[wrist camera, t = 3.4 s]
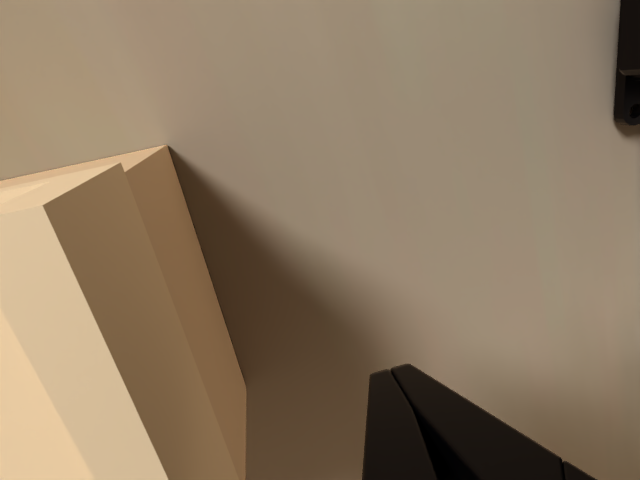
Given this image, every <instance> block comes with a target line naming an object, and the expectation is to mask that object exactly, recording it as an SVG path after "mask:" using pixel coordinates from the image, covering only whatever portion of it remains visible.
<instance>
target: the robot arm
mask: <svg viewBox="0 0 640 480" xmlns="http://www.w3.org/2000/svg"><path fill="white" fill-rule="evenodd" d="M631 107H632V108H633V110H632V113H631V114H629V111H630V108H631ZM614 118H615V120H616V122H617V123H619V124H622V125H637V124H640V0H621V8H620V24H619V40H618V56H617V72H616V88H615V105H614ZM362 480H597V479H595V478H593V477H592V476H590V475H588V474H587V473H585V472H583V471H582V470H580V469H579V468H577V467H575V466H574V465H572V464H571V463H569V462H567V461H564V462H562V459H561V458H560V457H559V456H557V455H556V454H554V453H553V452H551V451H549V450H548V449H546V448H544V447H543V446H541V445H540V444H538V443H536V442H535V441H533V440H532V439H530V438H528V437H527V436H525V435H524V434H522V433H520V432H519V431H517V430H516V429H514V428H512V427H511V426H509V425H507V424H506V423H504V422H503V421H501V420H499V419H498V418H496V417H495V416H493V415H491V414H490V413H488V412H487V411H485V410H483V409H482V408H480V407H479V406H477V405H475V404H474V403H472V402H470V401H469V400H467V399H466V398H464V397H462V396H461V395H459V394H458V393H456V392H454V391H453V390H451V389H450V388H448V387H446V386H445V385H443V384H442V383H440V382H438V381H437V380H435V379H433V378H432V377H430V376H429V375H427V374H425V373H424V372H422V371H421V370H419V369H417V368H416V367H414V366H413V365H411V364H404V365H400V366H396V367H393V368H391V370H387V369H385V370H382V371H378V372H374V373H372V374H371V375H370V379H369V393H368V406H367V419H366V433H365V446H364V459H363V473H362Z"/></svg>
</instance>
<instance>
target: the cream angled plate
mask: <svg viewBox="0 0 640 480" xmlns="http://www.w3.org/2000/svg"><path fill="white" fill-rule="evenodd" d="M0 480H239V478H238V475H237V473H236V470H235V467H234V465H233V462H232V459H231V457H230V454H229V451H228V449H227V446H226V443H225V441H224V438H223V435H222V432H221V430H220V427H219V424H218V422H217V419H216V416H215V414H214V411H213V408H212V406H211V403H210V400H209V398H208V395H207V392H206V389H205V387H204V384H203V381H202V379H201V376H200V373H199V371H198V368H197V365H196V363H195V360H194V357H193V355H192V352H191V349H190V347H189V344H188V341H187V338H186V336H185V333H184V330H183V328H182V325H181V322H180V320H179V317H178V314H177V312H176V309H175V306H174V304H173V301H172V298H171V295H170V293H169V290H168V287H167V285H166V282H165V279H164V277H163V274H162V271H161V269H160V266H159V263H158V261H157V258H156V255H155V252H154V250H153V247H152V244H151V242H150V239H149V236H148V234H147V231H146V228H145V226H144V223H143V220H142V218H141V215H140V212H139V210H138V207H137V204H136V201H135V199H134V196H133V193H132V191H131V188H130V185H129V183H128V180H127V177H126V175H125V172H124V169H123V167H122V164H121V162H119V163H115V164H110V165H106V166H101V167H97V168H92V169H87V170H83V171H78V172H74V173H69V174H65V175H60V176H55V177H51V178H46V179H42V180H37V181H33V182H28V183H23V184H19V185H14V186H10V187H5V188H1V189H0Z"/></svg>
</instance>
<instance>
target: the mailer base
mask: <svg viewBox="0 0 640 480" xmlns="http://www.w3.org/2000/svg"><path fill="white" fill-rule="evenodd" d="M119 162H121V164H122V167H123V169H124V172H125V175H126V177H127V180H128V183H129V185H130V188H131V191H132V193H133V196H134V199H135V201H136V204H137V207H138V210H139V212H140V215H141V218H142V220H143V223H144V226H145V228H146V231H147V234H148V236H149V239H150V242H151V244H152V247H153V250H154V252H155V255H156V258H157V261H158V263H159V266H160V269H161V271H162V274H163V277H164V279H165V282H166V285H167V287H168V290H169V293H170V295H171V298H172V301H173V304H174V306H175V309H176V312H177V314H178V317H179V320H180V322H181V325H182V328H183V330H184V333H185V336H186V338H187V341H188V344H189V347H190V349H191V352H192V355H193V357H194V360H195V363H196V365H197V368H198V371H199V373H200V376H201V379H202V381H203V384H204V387H205V389H206V392H207V395H208V398H209V400H210V403H211V406H212V408H213V411H214V414H215V416H216V419H217V422H218V424H219V427H220V430H221V432H222V435H223V438H224V441H225V443H226V446H227V449H228V451H229V454H230V457H231V459H232V462H233V465H234V467H235V470H236V473H237V475H238V478H239V480H245V479H246V385H245V382H244V379H243V376H242V373H241V370H240V367H239V364H238V361H237V358H236V355H235V352H234V349H233V345H232V342H231V339H230V336H229V333H228V330H227V327H226V324H225V321H224V318H223V315H222V312H221V309H220V306H219V303H218V299H217V296H216V293H215V290H214V287H213V284H212V281H211V278H210V275H209V272H208V269H207V266H206V263H205V260H204V257H203V254H202V250H201V247H200V244H199V241H198V238H197V235H196V232H195V229H194V226H193V223H192V220H191V217H190V214H189V211H188V208H187V205H186V201H185V198H184V195H183V192H182V189H181V186H180V183H179V180H178V177H177V174H176V171H175V168H174V165H173V162H172V159H171V155H170V152H169V149H168V146H167V145H163V146H159V147H154V148H150V149H145V150H140V151H136V152H131V153H127V154H122V155H117V156H113V157H108V158H104V159H99V160H94V161H90V162H85V163H81V164H76V165H71V166H67V167H62V168H58V169H53V170H48V171H44V172H39V173H35V174H30V175H25V176H21V177H16V178H12V179H7V180H2V181H0V189H1V188H5V187H10V186H14V185H19V184H23V183H28V182H33V181H37V180H42V179H46V178H51V177H55V176H60V175H65V174H69V173H74V172H78V171H83V170H87V169H92V168H97V167H101V166H106V165H110V164H115V163H119Z"/></svg>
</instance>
